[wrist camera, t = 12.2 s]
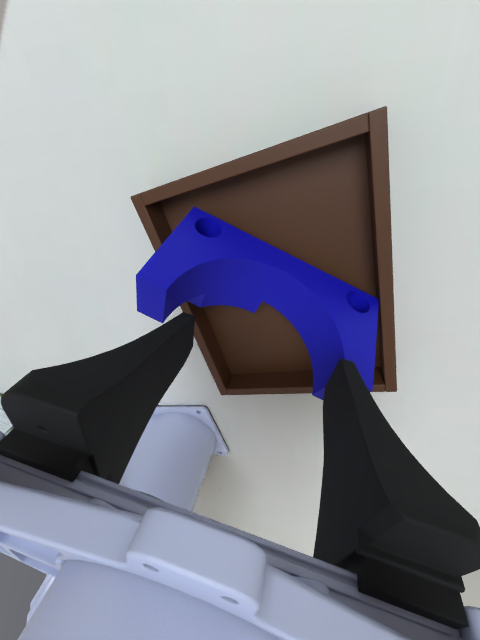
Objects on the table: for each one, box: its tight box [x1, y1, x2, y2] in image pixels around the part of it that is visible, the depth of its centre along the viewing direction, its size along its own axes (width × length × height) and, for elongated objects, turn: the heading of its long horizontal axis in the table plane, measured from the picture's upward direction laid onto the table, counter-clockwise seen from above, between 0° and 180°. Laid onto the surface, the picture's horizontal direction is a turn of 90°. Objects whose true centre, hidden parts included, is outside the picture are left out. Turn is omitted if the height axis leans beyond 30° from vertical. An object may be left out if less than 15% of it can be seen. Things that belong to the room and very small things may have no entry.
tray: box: [131, 106, 397, 395], centre depth 19 cm, size 13×16×2 cm
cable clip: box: [136, 207, 379, 400], centre depth 16 cm, size 12×4×6 cm, turn 68°
